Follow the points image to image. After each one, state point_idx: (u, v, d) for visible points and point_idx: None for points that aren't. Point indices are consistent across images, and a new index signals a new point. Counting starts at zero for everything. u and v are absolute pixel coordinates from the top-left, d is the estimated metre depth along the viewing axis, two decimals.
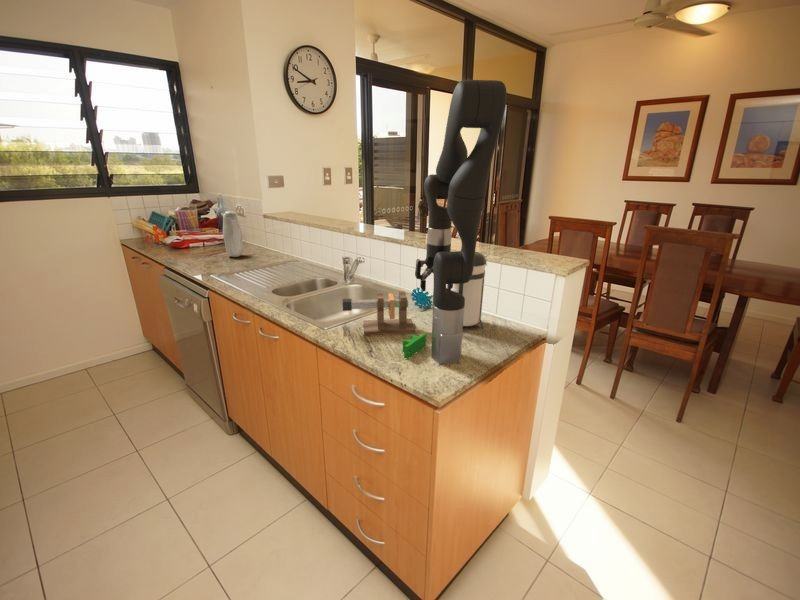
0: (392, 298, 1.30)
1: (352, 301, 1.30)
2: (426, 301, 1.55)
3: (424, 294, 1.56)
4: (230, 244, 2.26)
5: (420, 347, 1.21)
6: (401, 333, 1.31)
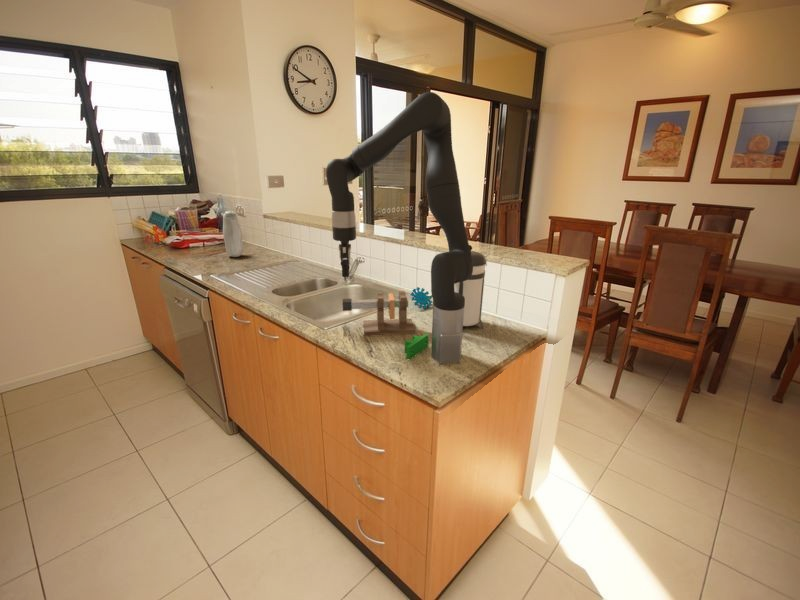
0: (392, 298, 1.30)
1: (352, 301, 1.30)
2: (426, 301, 1.55)
3: (424, 294, 1.57)
4: (230, 244, 2.26)
5: (422, 348, 1.20)
6: (401, 333, 1.31)
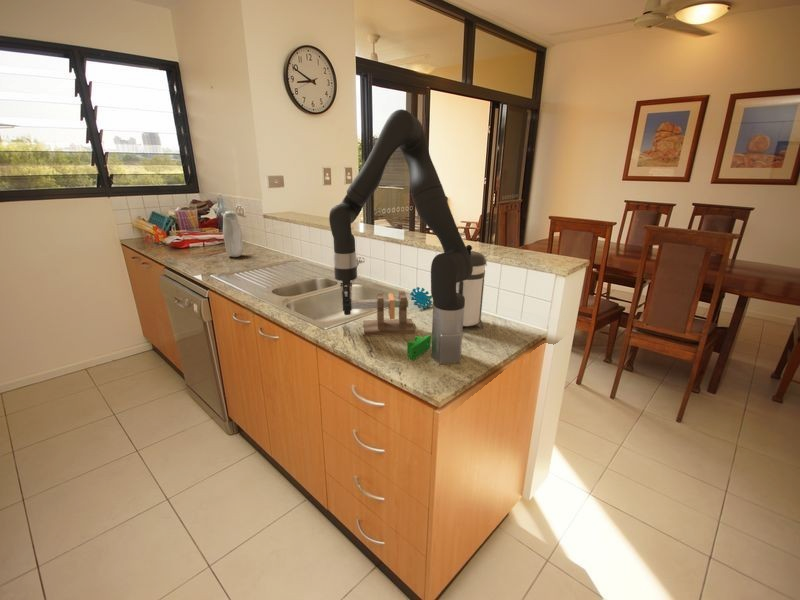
0: (392, 298, 1.30)
1: (352, 301, 1.30)
2: (425, 301, 1.55)
3: (424, 294, 1.57)
4: (230, 244, 2.26)
5: (425, 349, 1.20)
6: (401, 333, 1.31)
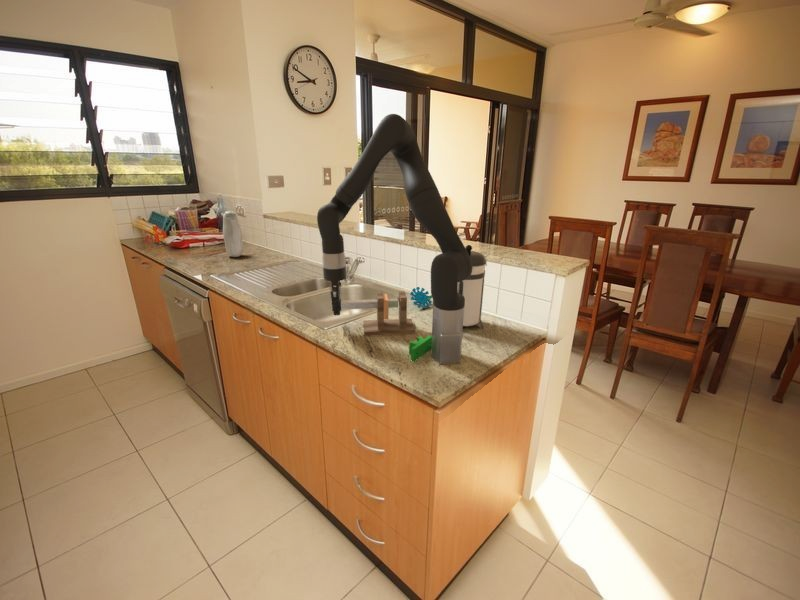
0: (386, 298, 1.29)
1: (342, 301, 1.30)
2: (425, 301, 1.55)
3: (424, 294, 1.57)
4: (230, 244, 2.26)
5: (427, 349, 1.19)
6: (401, 333, 1.31)
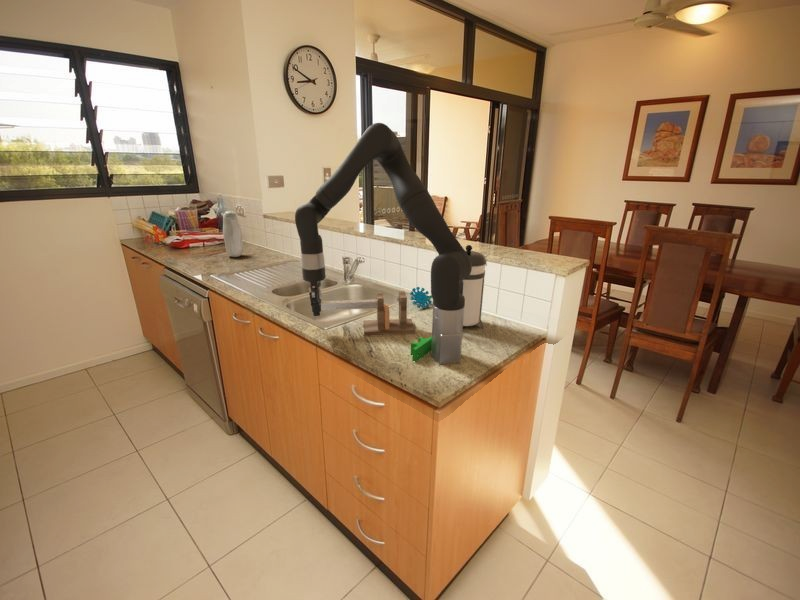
0: (387, 309, 1.31)
1: (322, 302, 1.29)
2: (425, 301, 1.56)
3: (424, 294, 1.57)
4: (230, 244, 2.26)
5: (428, 350, 1.19)
6: (401, 333, 1.31)
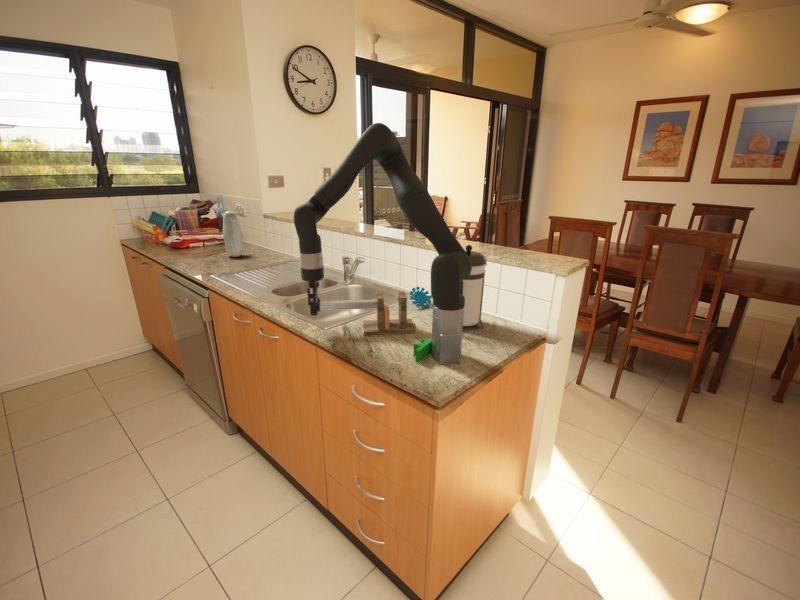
0: (387, 309, 1.31)
1: (321, 302, 1.29)
2: (425, 300, 1.56)
3: (423, 293, 1.57)
4: (230, 244, 2.26)
5: None
6: (401, 333, 1.31)
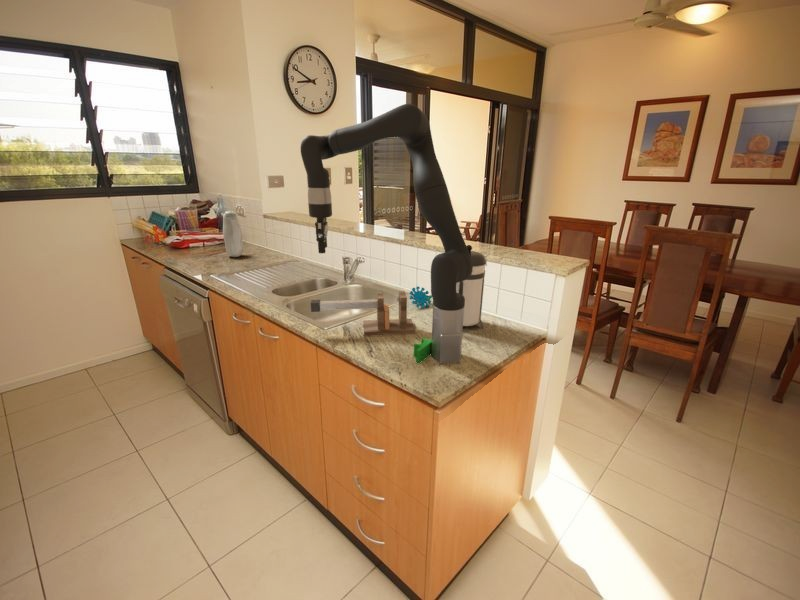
0: (387, 309, 1.31)
1: (321, 302, 1.29)
2: (424, 300, 1.56)
3: (423, 293, 1.57)
4: (230, 244, 2.26)
5: None
6: (401, 333, 1.31)
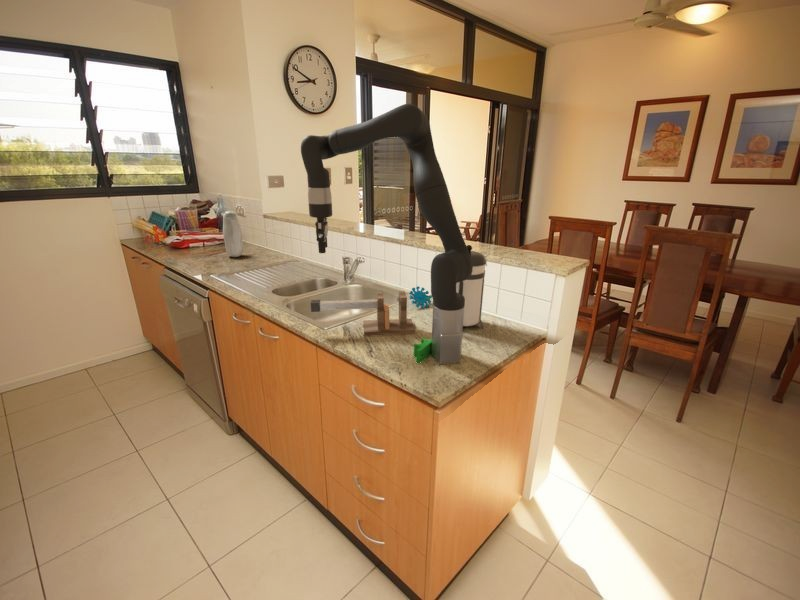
0: (387, 309, 1.31)
1: (321, 302, 1.29)
2: (424, 300, 1.56)
3: (423, 293, 1.57)
4: (230, 244, 2.26)
5: None
6: (401, 333, 1.31)
